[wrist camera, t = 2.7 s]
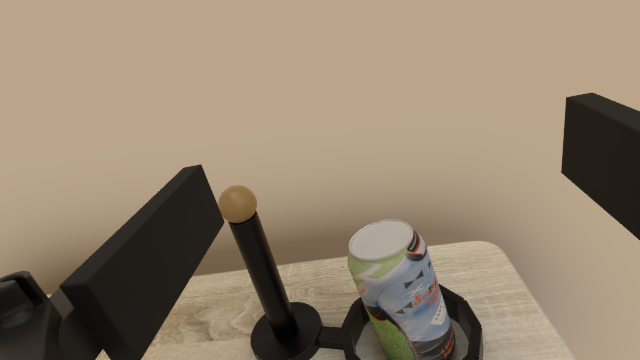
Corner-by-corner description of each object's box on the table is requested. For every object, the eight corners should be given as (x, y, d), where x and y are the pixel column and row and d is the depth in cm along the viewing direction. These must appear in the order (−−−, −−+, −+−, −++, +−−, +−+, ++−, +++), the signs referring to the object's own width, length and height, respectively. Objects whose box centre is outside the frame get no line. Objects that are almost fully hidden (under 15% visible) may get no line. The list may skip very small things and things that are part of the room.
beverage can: (457, 388, 27) (444, 264, 22) (363, 375, 30) (332, 262, 25) (455, 321, 32) (444, 209, 27) (375, 315, 35) (351, 212, 30)
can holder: (511, 395, 26) (509, 192, 19) (241, 454, 26) (141, 280, 19) (441, 275, 38) (424, 124, 30) (257, 318, 38) (199, 180, 31)
